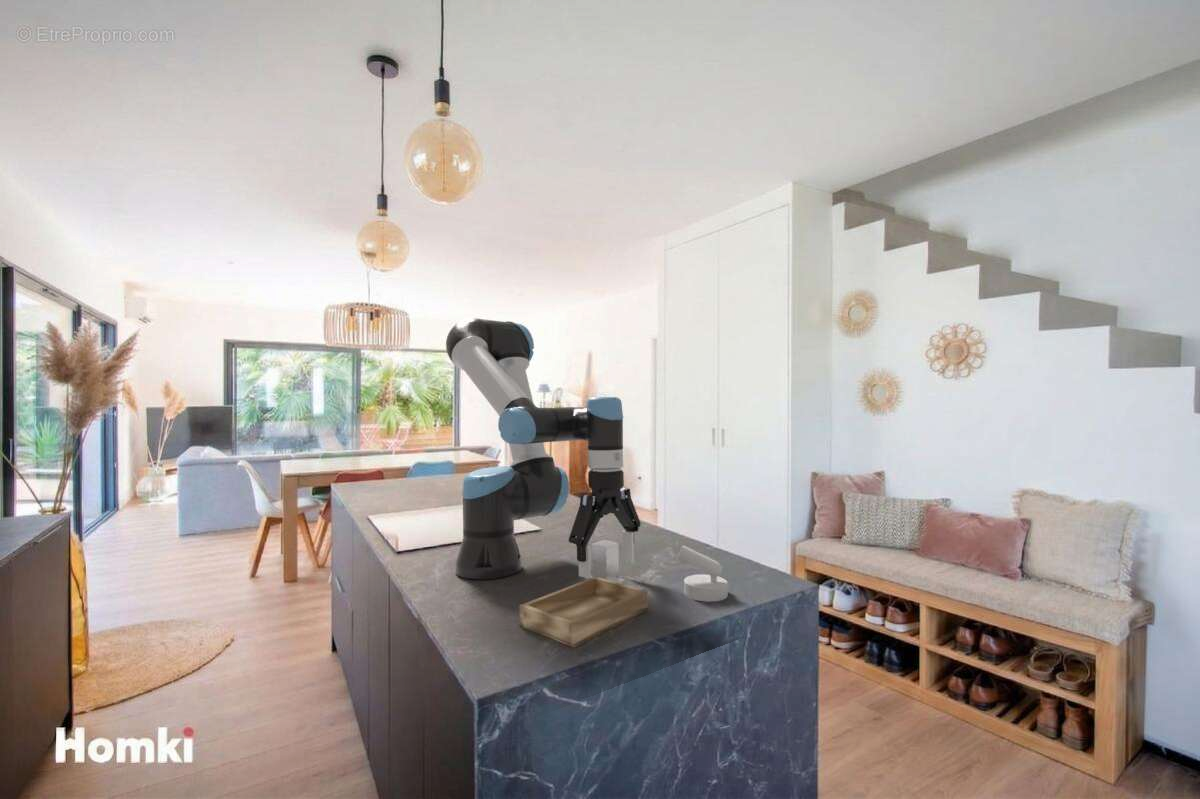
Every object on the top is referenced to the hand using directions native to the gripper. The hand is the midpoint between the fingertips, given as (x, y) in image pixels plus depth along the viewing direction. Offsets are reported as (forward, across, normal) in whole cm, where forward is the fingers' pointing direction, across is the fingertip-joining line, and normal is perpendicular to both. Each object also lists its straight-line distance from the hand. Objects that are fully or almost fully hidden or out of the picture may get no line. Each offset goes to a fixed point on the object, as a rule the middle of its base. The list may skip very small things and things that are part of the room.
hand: (607, 570), depth 111 cm
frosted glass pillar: (+3, 0, 0) cm, 3 cm away
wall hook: (+4, +9, -18) cm, 20 cm away
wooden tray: (+4, -15, -8) cm, 17 cm away
